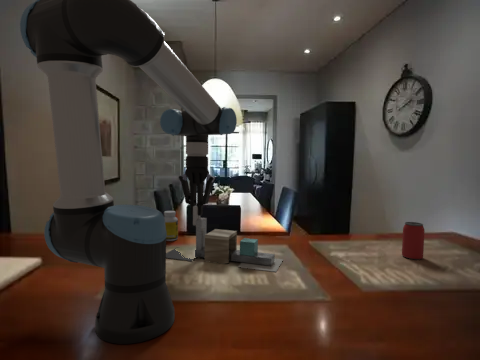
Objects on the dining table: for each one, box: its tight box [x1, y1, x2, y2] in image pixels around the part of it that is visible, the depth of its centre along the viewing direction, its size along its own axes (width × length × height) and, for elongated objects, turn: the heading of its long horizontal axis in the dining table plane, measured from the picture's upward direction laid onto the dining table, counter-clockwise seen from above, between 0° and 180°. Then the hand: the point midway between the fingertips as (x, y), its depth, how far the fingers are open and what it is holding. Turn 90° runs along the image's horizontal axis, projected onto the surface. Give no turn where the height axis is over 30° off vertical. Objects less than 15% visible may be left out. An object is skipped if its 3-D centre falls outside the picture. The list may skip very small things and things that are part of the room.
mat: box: [237, 257, 284, 273], centre depth 100 cm, size 12×12×1 cm
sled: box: [195, 217, 276, 266], centre depth 103 cm, size 5×26×12 cm, turn 72°
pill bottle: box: [163, 210, 179, 242], centre depth 128 cm, size 6×6×12 cm
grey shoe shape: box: [166, 247, 194, 262], centre depth 109 cm, size 12×12×1 cm
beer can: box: [401, 221, 426, 261], centre depth 109 cm, size 7×7×12 cm
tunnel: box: [204, 228, 238, 264], centre depth 104 cm, size 9×8×9 cm
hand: (196, 224), depth 107 cm, fingers closed
